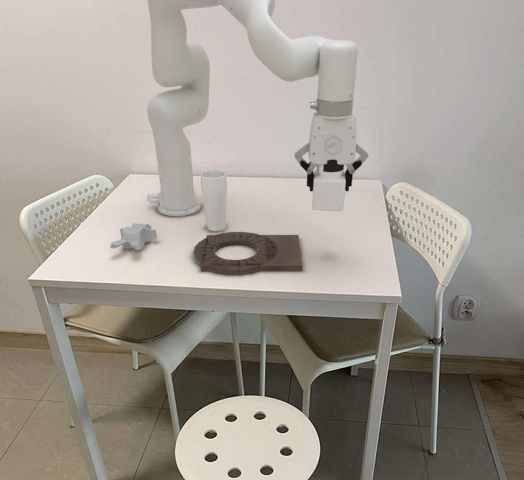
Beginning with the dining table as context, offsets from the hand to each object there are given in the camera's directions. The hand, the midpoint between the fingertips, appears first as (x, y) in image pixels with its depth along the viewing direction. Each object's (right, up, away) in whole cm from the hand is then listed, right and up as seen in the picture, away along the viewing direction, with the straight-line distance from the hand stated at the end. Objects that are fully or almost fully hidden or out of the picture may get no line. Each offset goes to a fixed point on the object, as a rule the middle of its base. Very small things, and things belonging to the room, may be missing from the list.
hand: (328, 188), depth 124 cm
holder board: (-19, -14, +10) cm, 26 cm away
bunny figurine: (-48, -11, +14) cm, 51 cm away
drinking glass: (-28, -4, +23) cm, 36 cm away
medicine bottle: (0, -3, +2) cm, 4 cm away
